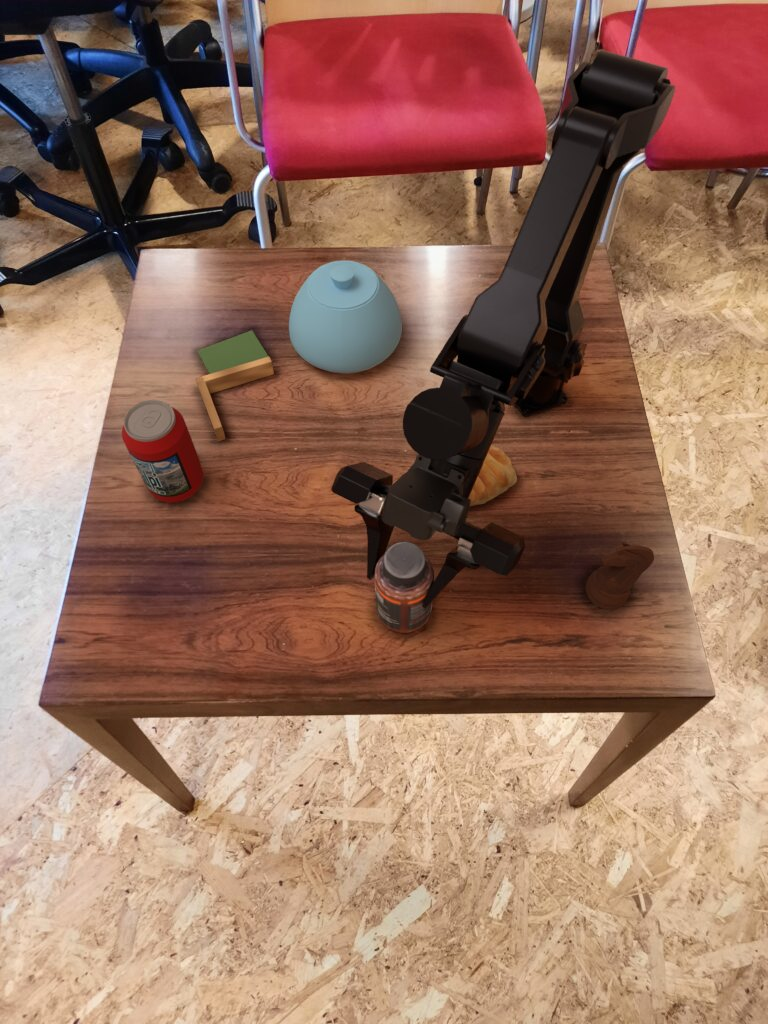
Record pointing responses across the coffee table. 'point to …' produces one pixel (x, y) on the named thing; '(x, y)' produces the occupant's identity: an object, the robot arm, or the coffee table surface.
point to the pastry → (493, 477)
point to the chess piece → (618, 575)
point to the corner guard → (230, 385)
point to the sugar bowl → (344, 318)
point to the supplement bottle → (403, 587)
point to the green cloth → (232, 352)
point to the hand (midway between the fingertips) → (397, 592)
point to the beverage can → (162, 450)
